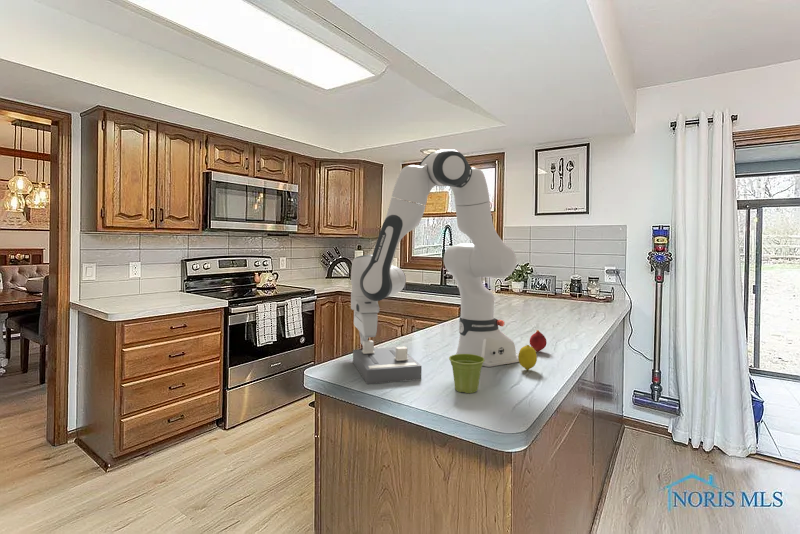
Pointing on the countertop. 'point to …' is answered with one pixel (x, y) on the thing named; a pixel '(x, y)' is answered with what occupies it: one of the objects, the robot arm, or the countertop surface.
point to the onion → (538, 341)
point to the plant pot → (466, 371)
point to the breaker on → (401, 354)
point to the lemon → (527, 357)
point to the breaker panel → (385, 366)
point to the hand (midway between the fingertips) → (364, 344)
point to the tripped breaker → (368, 347)
